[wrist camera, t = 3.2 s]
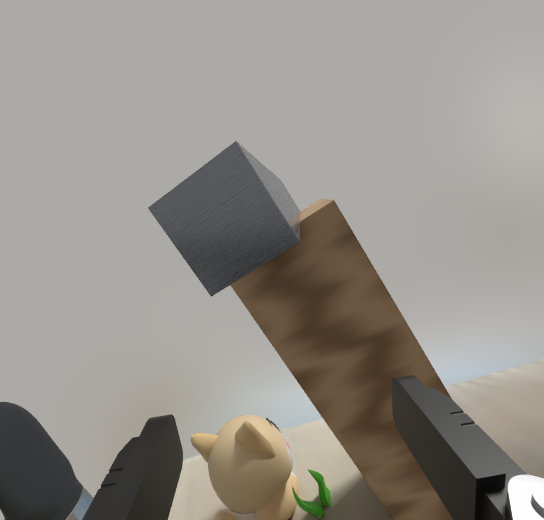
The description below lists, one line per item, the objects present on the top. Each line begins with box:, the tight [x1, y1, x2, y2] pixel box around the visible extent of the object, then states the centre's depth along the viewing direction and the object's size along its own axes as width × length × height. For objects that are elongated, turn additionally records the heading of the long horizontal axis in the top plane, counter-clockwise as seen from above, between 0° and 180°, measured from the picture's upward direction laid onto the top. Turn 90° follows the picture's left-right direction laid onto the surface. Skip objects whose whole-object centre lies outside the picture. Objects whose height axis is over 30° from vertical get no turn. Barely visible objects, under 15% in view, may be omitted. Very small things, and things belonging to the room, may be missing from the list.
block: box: [148, 142, 300, 296], centre depth 19 cm, size 4×21×4 cm, turn 175°
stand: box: [231, 199, 453, 520], centre depth 25 cm, size 11×12×32 cm
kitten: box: [191, 415, 331, 520], centre depth 34 cm, size 15×10×15 cm
